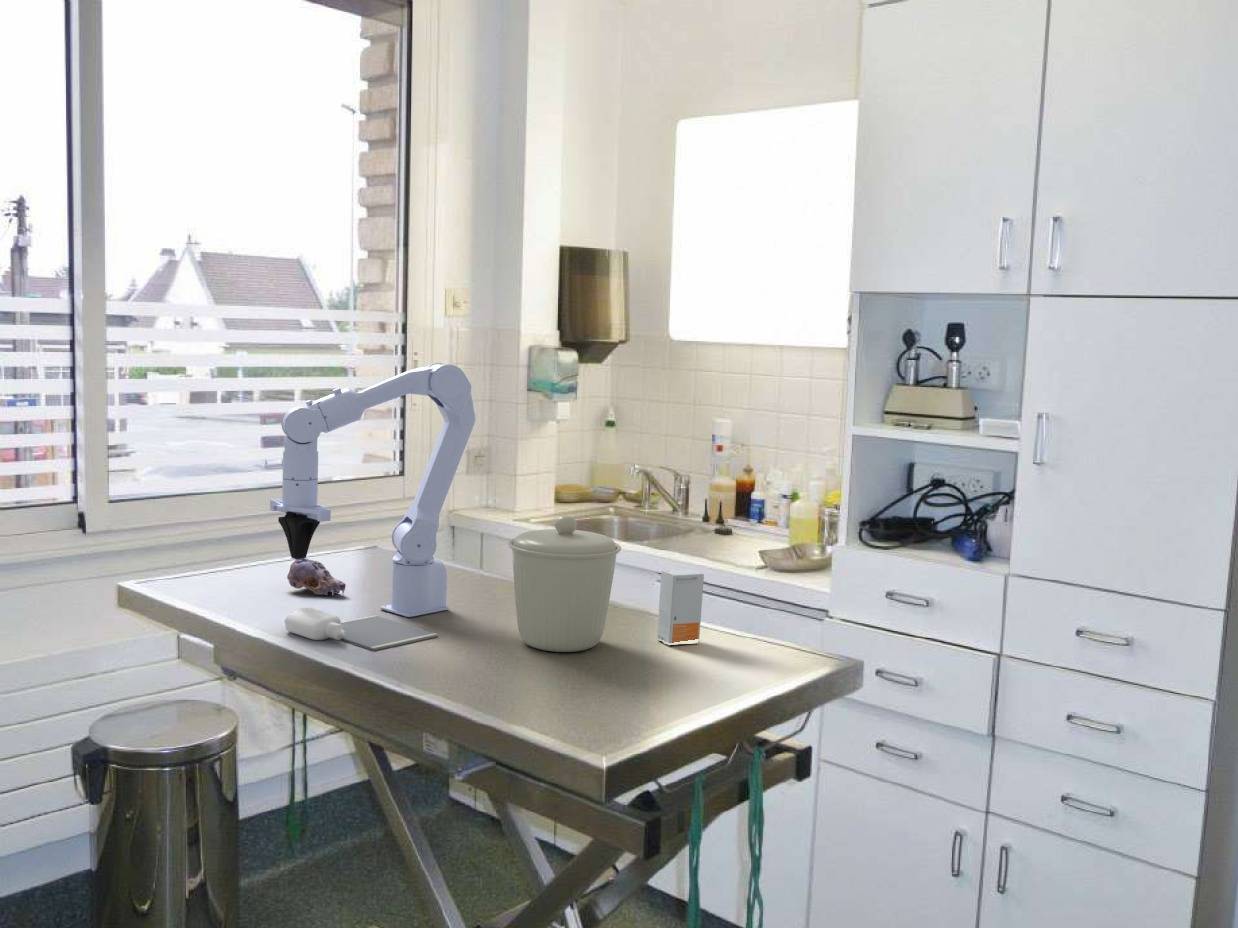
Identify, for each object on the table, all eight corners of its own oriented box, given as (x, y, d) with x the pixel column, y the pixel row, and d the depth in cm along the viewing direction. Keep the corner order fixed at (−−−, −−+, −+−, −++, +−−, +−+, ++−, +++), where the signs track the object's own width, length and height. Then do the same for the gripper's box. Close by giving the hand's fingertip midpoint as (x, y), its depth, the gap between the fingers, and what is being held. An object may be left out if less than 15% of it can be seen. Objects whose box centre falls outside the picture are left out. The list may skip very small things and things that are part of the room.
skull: (354, 595, 206) (355, 563, 205) (321, 602, 200) (322, 568, 199) (312, 585, 213) (312, 553, 212) (279, 591, 207) (279, 558, 206)
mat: (375, 617, 190) (375, 615, 190) (437, 636, 180) (437, 633, 180) (311, 630, 180) (311, 627, 180) (373, 650, 170) (373, 647, 170)
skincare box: (669, 647, 181) (673, 575, 180) (656, 640, 185) (660, 570, 184) (700, 644, 184) (704, 573, 183) (687, 637, 188) (691, 568, 186)
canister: (639, 648, 180) (645, 519, 177) (556, 666, 167) (562, 528, 165) (563, 624, 192) (569, 504, 190) (481, 640, 179) (486, 511, 177)
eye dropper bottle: (308, 634, 182) (354, 650, 174) (280, 629, 177) (326, 645, 170) (315, 608, 182) (362, 623, 175) (288, 602, 178) (335, 617, 171)
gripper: (254, 475, 188) (253, 553, 190) (305, 485, 179) (304, 567, 181) (290, 472, 194) (289, 549, 195) (341, 482, 185) (339, 562, 186)
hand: (298, 557), depth 188 cm, fingers closed
